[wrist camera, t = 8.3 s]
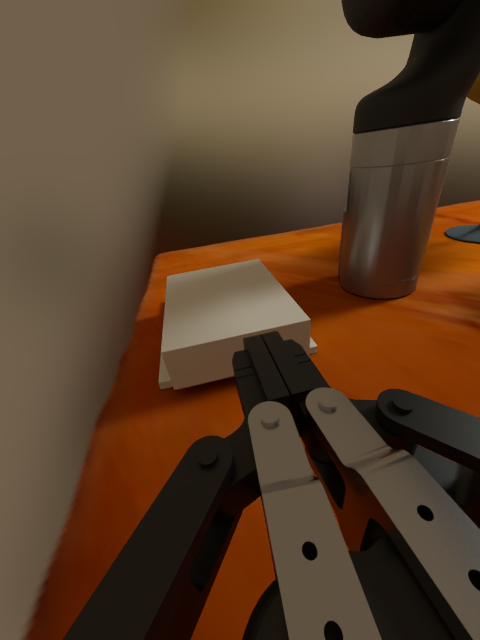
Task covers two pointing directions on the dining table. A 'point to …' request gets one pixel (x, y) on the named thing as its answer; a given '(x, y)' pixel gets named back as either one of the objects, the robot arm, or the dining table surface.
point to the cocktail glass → (468, 232)
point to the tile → (223, 319)
